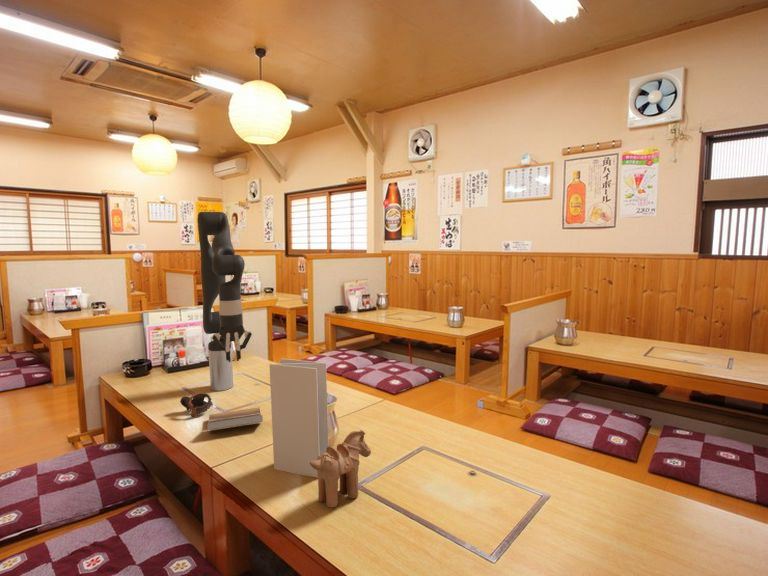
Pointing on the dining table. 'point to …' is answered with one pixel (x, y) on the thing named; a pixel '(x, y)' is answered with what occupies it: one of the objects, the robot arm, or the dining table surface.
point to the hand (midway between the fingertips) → (233, 360)
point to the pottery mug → (196, 403)
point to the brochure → (298, 414)
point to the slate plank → (234, 422)
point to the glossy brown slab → (234, 415)
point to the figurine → (340, 468)
